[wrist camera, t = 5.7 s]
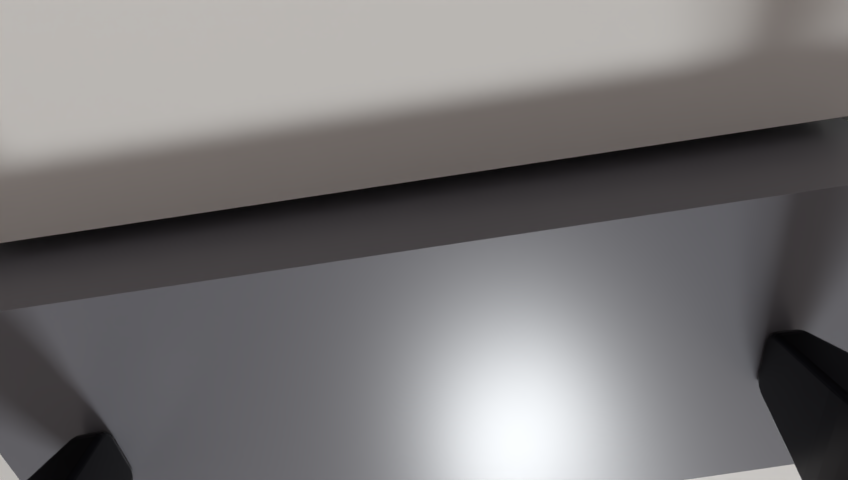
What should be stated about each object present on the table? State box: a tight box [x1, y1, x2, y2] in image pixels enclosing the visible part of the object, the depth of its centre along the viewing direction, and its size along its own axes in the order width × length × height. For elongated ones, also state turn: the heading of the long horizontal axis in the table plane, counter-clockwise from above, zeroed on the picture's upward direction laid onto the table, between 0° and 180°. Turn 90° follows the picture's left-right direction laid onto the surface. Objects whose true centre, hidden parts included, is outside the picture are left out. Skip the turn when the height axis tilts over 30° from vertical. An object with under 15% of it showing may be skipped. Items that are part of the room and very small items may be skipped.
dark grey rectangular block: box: [0, 117, 848, 480], centre depth 10 cm, size 12×5×4 cm, turn 97°
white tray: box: [0, 0, 848, 480], centre depth 15 cm, size 18×24×5 cm
